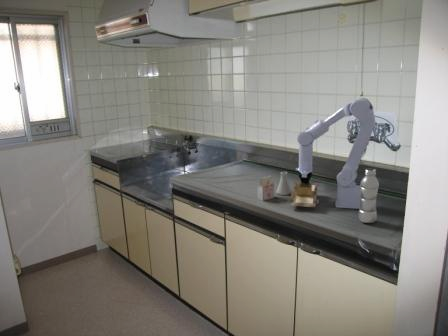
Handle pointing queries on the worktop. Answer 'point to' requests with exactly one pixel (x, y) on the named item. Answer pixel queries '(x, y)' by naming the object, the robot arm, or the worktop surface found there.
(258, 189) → the pink and white carton
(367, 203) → the plastic bottle
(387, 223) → the worktop surface
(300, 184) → the bronze weight
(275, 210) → the worktop surface
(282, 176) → the flask
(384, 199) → the worktop surface
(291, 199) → the small cardboard box
